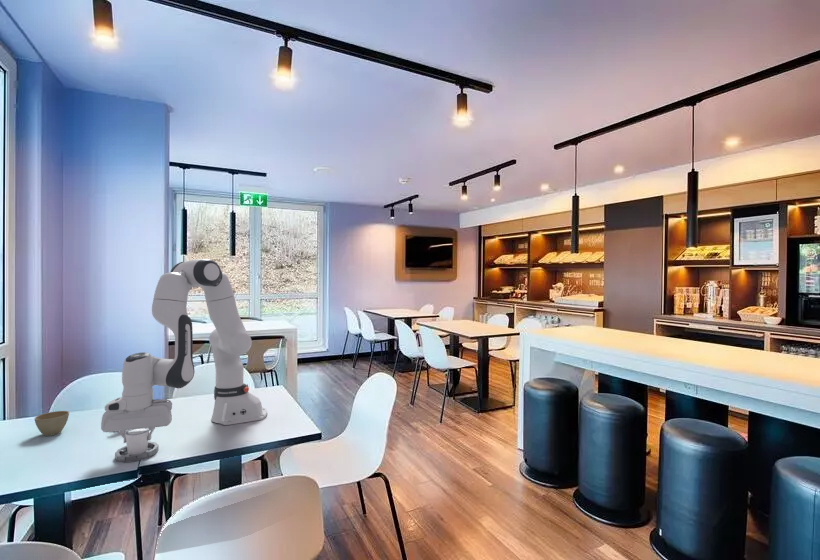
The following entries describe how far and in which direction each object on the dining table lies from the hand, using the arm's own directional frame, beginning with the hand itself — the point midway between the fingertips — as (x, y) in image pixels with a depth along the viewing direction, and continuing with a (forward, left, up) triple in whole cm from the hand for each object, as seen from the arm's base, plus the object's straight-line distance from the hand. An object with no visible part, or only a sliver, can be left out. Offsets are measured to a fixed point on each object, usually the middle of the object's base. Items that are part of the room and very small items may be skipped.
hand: (137, 440), depth 137 cm
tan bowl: (+37, -30, -5) cm, 48 cm away
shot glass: (0, 0, -4) cm, 4 cm away
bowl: (0, 0, -5) cm, 5 cm away
